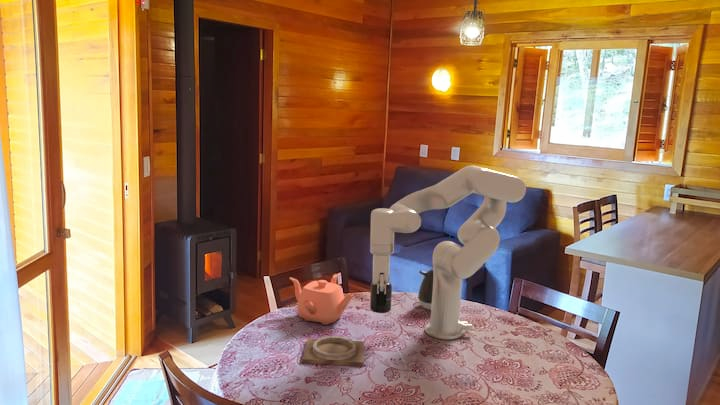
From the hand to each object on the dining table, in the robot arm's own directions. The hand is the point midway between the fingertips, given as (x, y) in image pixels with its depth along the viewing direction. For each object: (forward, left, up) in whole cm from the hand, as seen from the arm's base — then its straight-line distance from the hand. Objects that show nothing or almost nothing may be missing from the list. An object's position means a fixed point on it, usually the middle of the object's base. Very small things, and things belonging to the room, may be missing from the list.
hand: (380, 300), depth 173 cm
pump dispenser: (-20, -30, -13) cm, 38 cm away
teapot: (+21, -15, -13) cm, 29 cm away
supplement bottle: (0, 0, -3) cm, 3 cm away
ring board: (+14, +12, -13) cm, 23 cm away
